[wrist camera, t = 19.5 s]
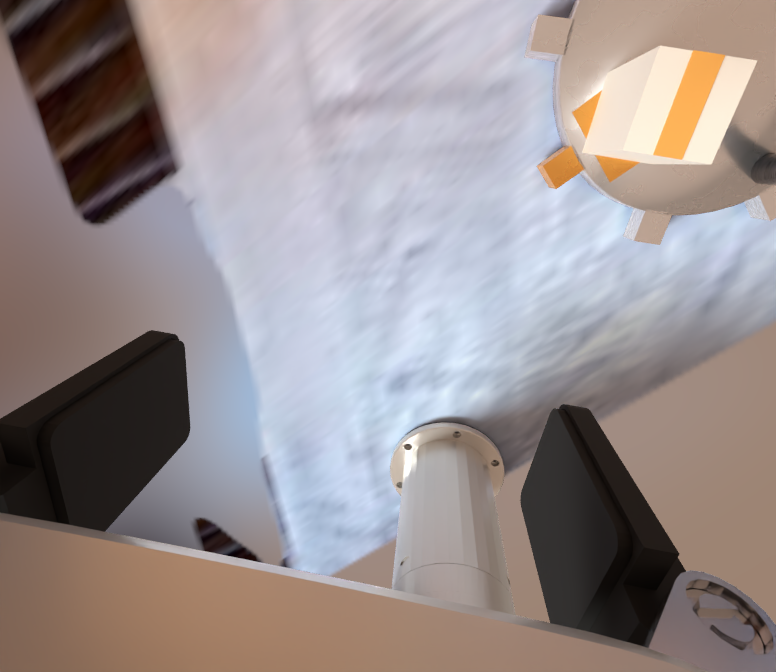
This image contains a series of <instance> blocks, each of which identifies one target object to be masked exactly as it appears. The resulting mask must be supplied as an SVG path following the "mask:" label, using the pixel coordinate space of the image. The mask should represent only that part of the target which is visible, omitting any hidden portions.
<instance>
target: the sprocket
mask: <svg viewBox="0 0 776 672" xmlns="http://www.w3.org/2000/svg"><path fill="white" fill-rule="evenodd" d="M658 46H666V47H673V48H679V49H686V50H692V51H693V50H696V51H703V52H709V53H716V54H723V55H725V56H731V57H738V58H744V59H751V60H757V63H756V65H755V67H754V70H753V72H752V74H751V76H750V79H749V81H748V83H747V86H746V88H745V90H744V92H743V95H742V97H741V99H740V101H739V104H738V106H737V108H736V110H735V113H734V115H733V117H732V119H731V122H730V124H729V126H728V128H727V131H726V133H725V135H724V137H723V140H722V142H721V144H720V146H719V149H718V151H717V153H716V155H715V158H714V160H713V162H712V164H711V165H700V164H648V163H641V162H635V161H629V160H623V159H617V158H611V157H605V156H599V155H593V154H587V153H582V151H583V148H584V145H585V142H586V139H587V136H588V132H589V129H590V126H591V123H592V120H593V117H594V114H595V110H596V107H597V104H598V101H599V98H600V95H601V92H602V88H603V85H604V82H605V79H606V76H607V73H608V72H610V71H612V70H614V69H616V68H618V67H620V66H622V65H623V64H625V63H627V62H629V61H631V60H633V59H635V58H637V57H639V56H641V55H643V54H645V53H647V52H648V51H650V50H652V49H654V48H656V47H658ZM524 58H531V59H538V60H546V61H553V62H555V67H554V78H553V108H554V115H555V121H556V127H557V130H558V133H559V136H560V140H561V143H562V145H563V147H562V148H561V149H559V150H558V151H557V152H555V153H554V154H552V155H551V156H550V157H548V158H547V159H546V160H544V161H543V162H541V163H540V164H539V165H537V167H538V169H539V171H540V173H541V174H542V176H543V178H544V179H545V181H546V183H547V184H548V186H549V187H550V188H554V189H557V188H558V187H560V186H561V185H562V184H564V183H565V182H567V181H568V180H570V179H571V178H573V177H574V176H576V175H577V174H578V173H579V174H580V175H581V176H582V177H583V178H584V180H585V181H586V182H587V183H588V184H589V185H590V186H592V187H593V188H594V189H595V190H597V191H598V192H599V193H601V194H602V195H604V196H606V197H607V198H609V199H611V200H613V201H614V202H617V203H620V204H622V205H625V206H627V207H630V208H633V211H632V213H631V216H630V219H629V222H628V224H627V227H626V230H625V232H624V235H623V237H625V238H628V239H630V240H633V241H638V242H645V243H651V244H658V245H660V243H661V241H662V238H663V236H664V233H665V231H666V229H667V226H668V224H669V221H670V219H671V216H672V215H694V214H701V213H707V212H713V211H717V210H720V209H724V208H727V207H731V206H734V205H737V204H739V203H742V202H744V203H745V205H746V208H747V210H748V212H749V214H750V217H751V218H756V219H762V220H768V221H771V220H773V219H774V218H776V0H575V3H574V5H573V7H572V10H571V12H570V14H569V17H568V18H561V17H553V16H546V15H538V16H537V17H536V19H535V20H534V22H533V23H532V25H531V30H530V34H529V38H528V43H527V47H526V52H525V56H524Z"/></svg>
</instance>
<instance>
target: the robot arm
mask: <svg viewBox="0 0 776 672" xmlns="http://www.w3.org/2000/svg"><path fill="white" fill-rule="evenodd" d="M189 432H190V417H189V403H188V389H187V373H186V359H185V347H184V344H183V342H182V341H179V339H178V337H177V336H176V335H175V334H170V333H164V332H159V331H153V330H151V331H148V332H146V333H145V334H143V335H142V336H140V337H138V338H136V339H135V340H133V341H132V342H130V343H128V344H126V345H124V346H123V347H121V348H120V349H118V350H116V351H115V352H113V353H111V354H110V355H108V356H106V357H104V358H103V359H101V360H99V361H98V362H96V363H94V364H92V365H91V366H89V367H87V368H85V369H84V370H82V371H80V372H79V373H77V374H75V375H74V376H72V377H70V378H69V379H67V380H65V381H64V382H62V383H60V384H58V385H57V386H55V387H53V388H52V389H50V390H48V391H47V392H45V393H43V394H41V395H40V396H38V397H37V398H35V399H33V400H31V401H30V402H28V403H26V404H24V405H23V406H21V407H19V408H18V409H16V410H14V411H13V412H11V413H9V414H8V415H6V416H4V417H3V418H1V419H0V672H776V625H775V624H774V622H773V621H772V620H771V619H770V617H769V616H768V615H767V614H766V612H765V611H764V610H763V609H762V608H760V607H759V606H758V605H757V604H756V603H755V602H754V601H753V600H752V599H751V598H750V597H748V596H747V595H746V594H744V593H743V592H741V591H740V590H738V589H737V588H736V587H734V586H733V585H731V584H729V583H727V582H725V581H724V580H722V579H720V578H718V577H715V576H713V575H710V574H707V573H704V572H698V571H687V572H686V570H685V569H684V567H683V565H682V564H681V562H680V561H679V559H678V556H679V553H678V551H677V549H676V548H675V546H674V545H673V543H672V541H671V540H670V538H669V537H668V535H667V533H666V532H665V530H664V529H663V527H662V525H661V524H660V522H659V521H658V519H657V518H656V516H655V514H654V513H653V511H652V509H651V508H650V506H649V504H648V503H647V501H646V500H645V498H644V496H643V495H642V493H641V492H640V490H639V489H638V487H637V486H636V484H635V482H634V481H633V479H632V477H631V476H630V474H629V472H628V471H627V469H626V468H625V466H624V464H623V463H622V461H621V460H620V458H619V457H618V455H617V453H616V452H615V450H614V448H613V447H612V445H611V444H610V442H609V440H608V439H607V437H606V435H605V434H604V432H603V431H602V429H601V427H600V426H599V424H598V423H597V421H596V419H595V418H594V416H593V415H592V413H591V411H590V410H589V409H587V408H582V407H576V406H571V405H565V404H563V405H561V407H560V408H559V409H553V410H552V411H551V413H550V416H549V418H548V421H547V424H546V426H545V429H544V432H543V435H542V437H541V440H540V443H539V445H538V448H537V451H536V453H535V456H534V459H533V462H532V464H531V467H530V470H529V472H528V475H527V478H526V480H525V483H524V486H523V489H522V492H521V507H522V512H523V516H524V519H525V524H526V527H527V532H528V535H529V539H530V543H531V548H532V552H533V556H534V560H535V564H536V568H537V571H538V575H539V580H540V583H541V588H542V592H543V596H544V599H545V603H546V608H547V612H548V616H549V620H550V623H547V622H543V621H539V620H534V619H530V618H525V617H521V616H517V615H515V610H514V604H513V599H512V593H511V588H510V581H509V576H508V571H507V565H506V559H505V554H504V548H503V543H502V537H501V531H500V526H499V520H498V514H497V509H496V503H495V497H496V495H497V494H498V493H499V491H500V489H501V487H502V485H503V481H504V465H503V460H502V457H501V455H500V452H499V450H498V449H497V447H496V446H495V444H494V443H493V442H492V441H491V440H490V439H489V438H488V437H487V436H486V435H484V434H483V433H481V432H479V431H478V430H476V429H474V428H471V427H469V426H466V425H462V424H457V423H446V422H442V423H432V424H429V425H425V426H421V427H419V428H417V429H415V430H413V431H411V432H410V433H408V434H407V435H406V436H404V437H403V439H402V440H401V441H400V442H399V443H398V444H397V446H396V448H395V449H394V451H393V455H392V458H391V465H390V476H391V479H392V483H393V485H394V487H395V489H396V490H397V492H398V493H399V494H400V496H401V502H400V512H399V522H398V532H397V542H396V552H395V561H394V571H393V581H392V589H388V588H383V587H378V586H374V585H369V584H364V583H359V582H354V581H349V580H344V579H339V578H334V577H330V576H325V575H320V574H315V573H310V572H305V571H300V570H295V569H290V568H285V567H280V566H275V565H270V564H265V563H260V562H255V561H250V560H245V559H240V558H235V557H230V556H225V555H220V554H215V553H210V552H205V551H200V550H195V549H190V548H185V547H180V546H175V545H169V544H165V543H159V542H154V541H149V540H144V539H138V538H134V537H129V536H124V535H118V534H113V533H108V532H105V531H106V530H107V529H108V527H109V526H110V525H111V524H112V523H113V522H114V521H115V520H116V519H117V517H118V516H119V515H120V514H121V513H122V512H123V511H124V510H125V508H126V507H127V506H128V505H129V504H130V503H131V502H132V500H134V498H135V497H136V496H137V495H138V494H139V493H140V492H141V491H142V489H143V488H144V487H145V486H146V485H147V484H148V483H149V482H150V481H151V479H152V478H153V477H154V476H155V475H156V474H157V473H158V472H159V470H160V469H161V468H162V467H163V466H164V465H165V464H166V463H167V461H168V460H169V459H170V458H171V457H172V456H173V455H174V454H175V453H176V451H177V450H178V449H179V448H180V447H181V446H182V445H183V444H184V442H185V441H186V440H187V438H188V436H189Z"/></svg>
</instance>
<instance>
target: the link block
mask: <svg viewBox="0 0 776 672" xmlns="http://www.w3.org/2000/svg"><path fill="white" fill-rule="evenodd" d="M756 63H757V60H751V59H744V58H738V57H731V56H725V55H723V54H716V53H709V52H703V51H696V50H693V51H692V50H686V49H679V48H673V47H666V46H658V47H656V48H654V49H652V50H650V51H648V52H647V53H645V54H643V55H641V56H639V57H637V58H635V59H633V60H631V61H629V62H627V63H625V64H623V65H622V66H620V67H618V68H616V69H614V70H612V71H610V72H608V73H607V76H606V79H605V82H604V85H603V88H602V92H601V95H600V98H599V101H598V104H597V107H596V110H595V114H594V117H593V120H592V123H591V126H590V129H589V132H588V136H587V139H586V142H585V145H584V148H583V151H582V153H587V154H593V155H599V156H605V157H611V158H617V159H623V160H629V161H635V162H641V163H648V164H700V165H711V164H712V162H713V160H714V158H715V155H716V153H717V151H718V149H719V146H720V144H721V142H722V140H723V137H724V135H725V133H726V131H727V128H728V126H729V124H730V122H731V119H732V117H733V115H734V113H735V110H736V108H737V106H738V104H739V101H740V99H741V97H742V95H743V92H744V90H745V88H746V86H747V83H748V81H749V79H750V76H751V74H752V72H753V70H754V67H755V65H756Z"/></svg>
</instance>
